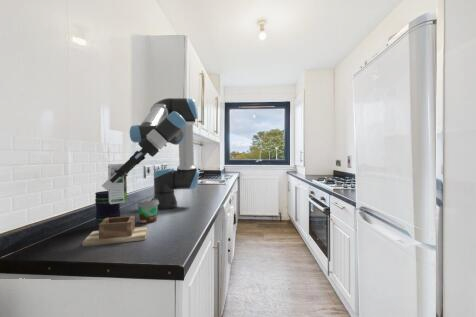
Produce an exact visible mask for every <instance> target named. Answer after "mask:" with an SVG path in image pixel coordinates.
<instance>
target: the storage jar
mask: <svg viewBox="0 0 476 317" xmlns="http://www.w3.org/2000/svg"><path fill="white" fill-rule="evenodd" d="M94 194H95V198H94V201H95V202H94V203H95V209H96V211H95V212H96V213H95V228H96V229H98V230H99V224H100V223H101V222H102V221H103V220H104V219H105V218H112V217H122V216H121V210H120V207H121V206H120V204H121V203H117V204H110V203H109V190H108V191H107V190H103V191H102V190H101V191H96V192H95V193H94Z"/></svg>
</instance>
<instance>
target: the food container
mask: <svg viewBox="0 0 476 317" xmlns="http://www.w3.org/2000/svg"><path fill="white" fill-rule="evenodd" d="M158 204H159V201H158V199H156V198H153V197H152V198H151V199H150V200H146V201H143V202H142V201H140V202H139V201H138V202H137V208H138V218H139V225H146V224H152V223H156V222H157V221H158V220H157V218H158V209H157V207H158Z"/></svg>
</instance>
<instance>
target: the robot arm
mask: <svg viewBox="0 0 476 317" xmlns="http://www.w3.org/2000/svg"><path fill="white" fill-rule="evenodd" d="M196 102H197V101H195V99H194V98H187V97H185V98H179V97H178V98H173V97H170V98H169V97H168V98H167V97H166V98H163V99H161V100H158V101H156V102H155V103H154V104H153V105H152V106H151V107H150V110H149V113H148V114H147V115H146V117H145V118H144V120H142V122H141V123H140V125H139V124H135V125H134V124H133V125H131V126H130V128H129V138H130V141H131V142H132V143H137V144H138V146H139V147H140V148H141V149H140V150H136V151H135V152H134V153H133V154H132V155H131V156H130V157H129V159H128V160H127V161H125V163H123V164H124V165H123V166H122V167H120V168H119V169H118V170H117V171H116V170H115V171H114V172H115V173H114V174H113V175H112V176H111V177H110V178H109V179H107V180H106V181H105V182H104V183H103V184H101V187H102V188H103V189H104V190H105V191H109V189H110V188H111V187H112V186H113V185H114V184H115V183H116V182H117V181H118V180H120V179H121V178H122V176H123V175H124V174H125V173H126V178H127V177H128V176H129V175H128V174H129V173H130V171H132V170H133V169H134V168H135V167H136V166H137V165H139V164H140V163H141V162H142V161H143V160H146V155H149V156H151V157H155V156H156V154H157V153H159V152H160V150H162V149H163V148H164V147H167V146H168V145H167V143H170V144H171V145H175V146H176V145H178V158H179V160H178V161H179V165H178V166H177V167H176V169H175V168H174V167H170V168H164V169H163V168H162V169H157V170H155V171H154V174H153V197H152V198H156V199H158V201H159V204H158V207H157V210H169V209H170V208H171V209H174V207H175V208H178V200H177V198H176V196H175V195H176V194H175V190H196V189H197V188H198V185H199V176H200V170H199V169H197V166H196V165H195V157H194V156H195V155H194V154H195V153H194V124H195V123H196V120H198V118H199V116H198V108H197V104H196Z"/></svg>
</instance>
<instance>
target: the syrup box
mask: <svg viewBox="0 0 476 317" xmlns="http://www.w3.org/2000/svg"><path fill="white" fill-rule="evenodd" d="M124 164H125V163H108V165H107V178H108V179H109V178H110V177H111V176H112V175H113V174H114V173H115V172H114V171H115V170H116V171H117V170H118V169H119V168H120V167H122V166H123V165H124ZM108 179H107V180H108ZM127 184H128V183H127V177H126V173H125V174H124V175H123V176H122V178H121V179H120V180H118V181H117V182H116V183H115V184H114V185H113V186H112V187H111V188H110V189H109V190H108V191H109V203H110V204H117V203H120V204H126V203H128V192H127V190H128V186H127Z"/></svg>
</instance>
